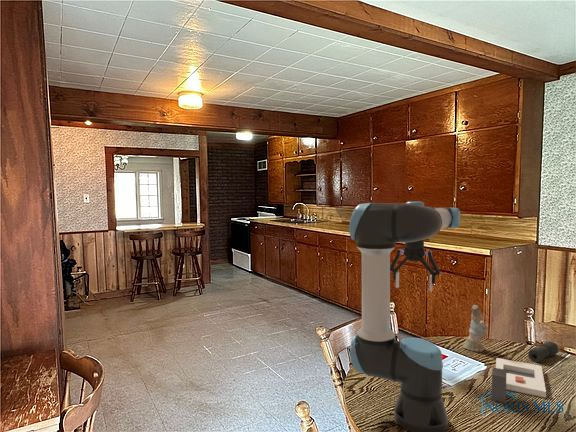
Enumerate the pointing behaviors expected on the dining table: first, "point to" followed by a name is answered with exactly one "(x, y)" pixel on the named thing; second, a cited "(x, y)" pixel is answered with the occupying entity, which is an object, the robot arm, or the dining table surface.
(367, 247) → the robot arm
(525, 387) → the socket plate
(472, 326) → the figurine
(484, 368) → the dining table surface
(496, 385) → the plug
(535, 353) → the flashlight
